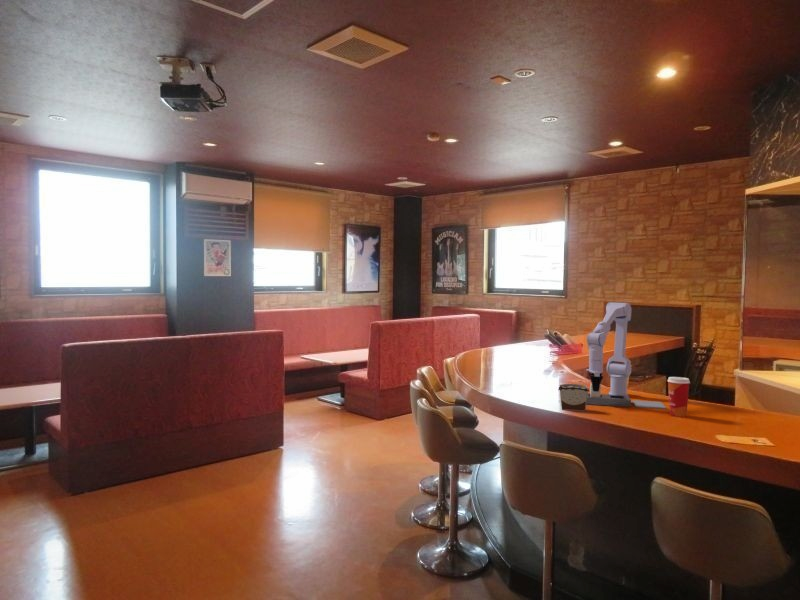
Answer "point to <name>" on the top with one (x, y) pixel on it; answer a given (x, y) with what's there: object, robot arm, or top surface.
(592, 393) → the ivory plug
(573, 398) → the food container
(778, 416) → the top surface
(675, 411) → the coffee cup
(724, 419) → the top surface
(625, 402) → the metal frame
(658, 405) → the rubber pad
